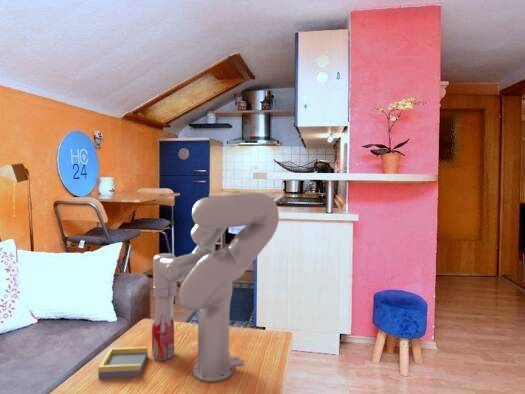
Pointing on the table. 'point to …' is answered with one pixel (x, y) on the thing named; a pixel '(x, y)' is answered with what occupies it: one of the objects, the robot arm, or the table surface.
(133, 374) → the tray
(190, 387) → the table surface
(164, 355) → the soda can
